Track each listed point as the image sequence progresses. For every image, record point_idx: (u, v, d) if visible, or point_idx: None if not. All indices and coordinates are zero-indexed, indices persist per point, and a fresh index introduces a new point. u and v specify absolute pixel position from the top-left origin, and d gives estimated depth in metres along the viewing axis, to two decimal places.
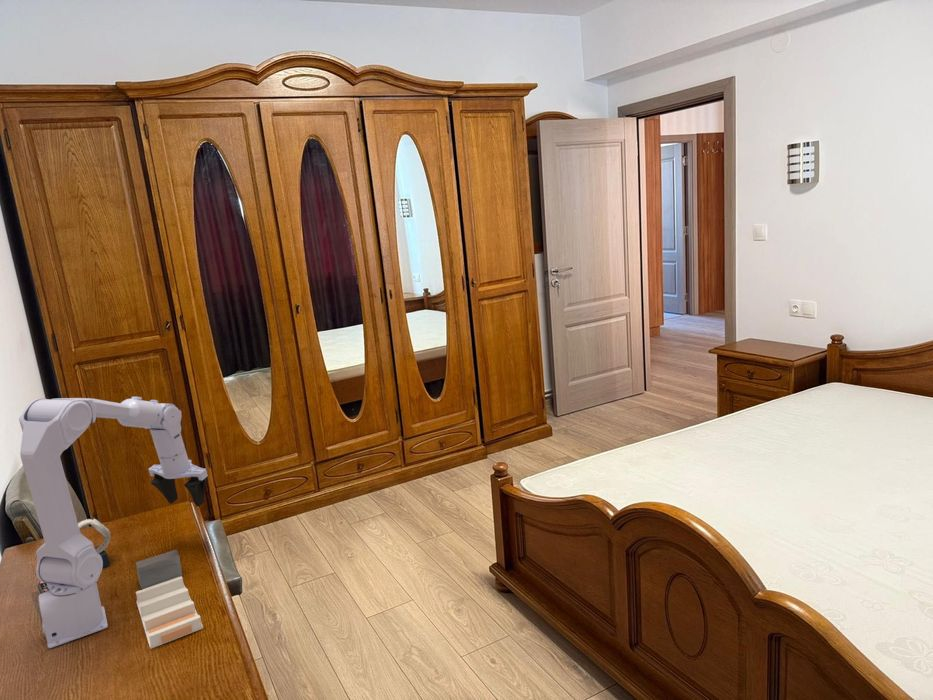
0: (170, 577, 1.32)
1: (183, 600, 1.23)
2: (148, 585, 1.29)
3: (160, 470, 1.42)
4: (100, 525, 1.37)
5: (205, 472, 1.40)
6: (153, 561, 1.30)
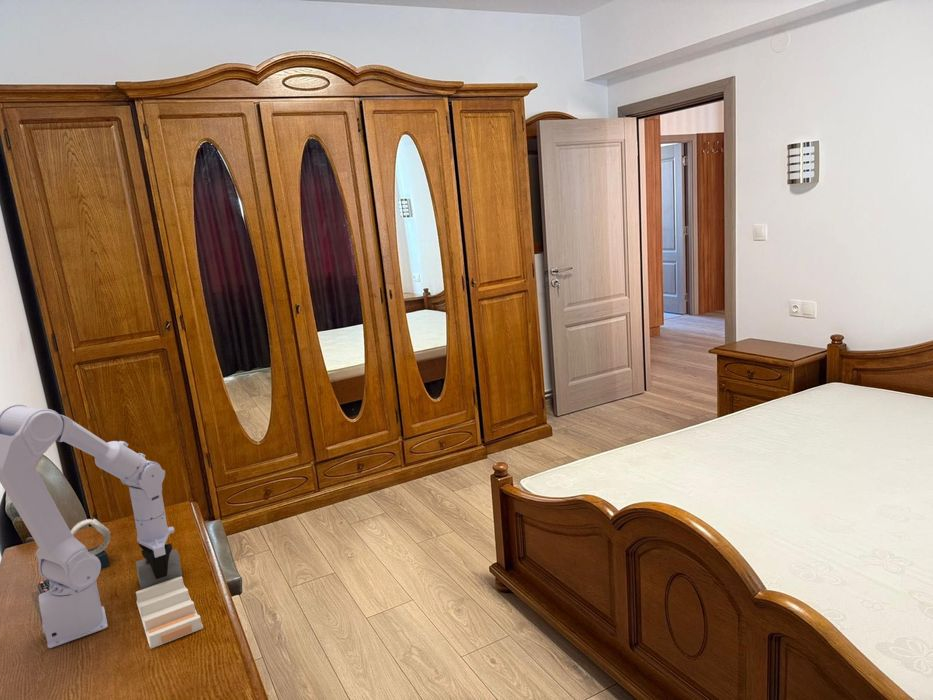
0: (170, 576, 1.32)
1: (183, 600, 1.23)
2: (148, 584, 1.29)
3: None
4: (100, 525, 1.37)
5: (163, 549, 1.24)
6: None
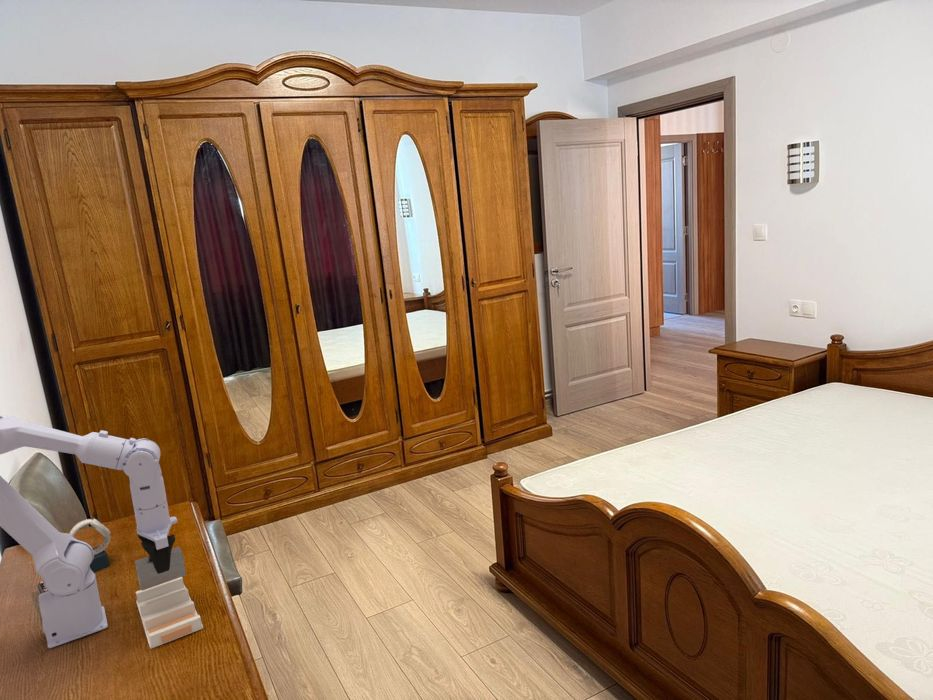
0: (173, 576, 1.21)
1: (183, 600, 1.23)
2: (149, 585, 1.18)
3: None
4: (100, 525, 1.37)
5: (165, 540, 1.13)
6: None
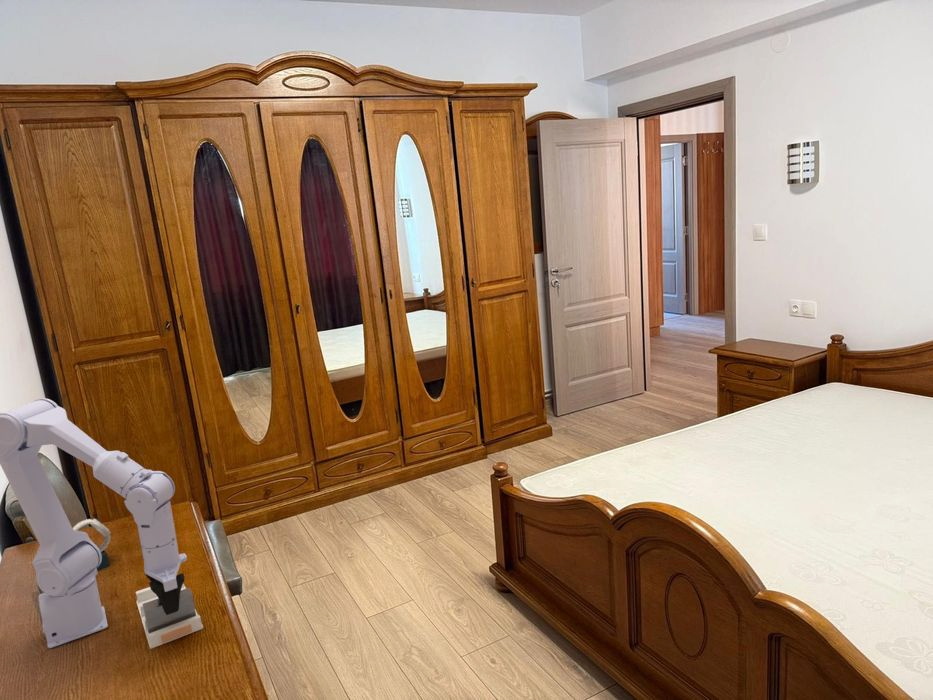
0: (182, 620, 1.14)
1: None
2: None
3: None
4: (100, 525, 1.37)
5: (174, 582, 1.07)
6: None
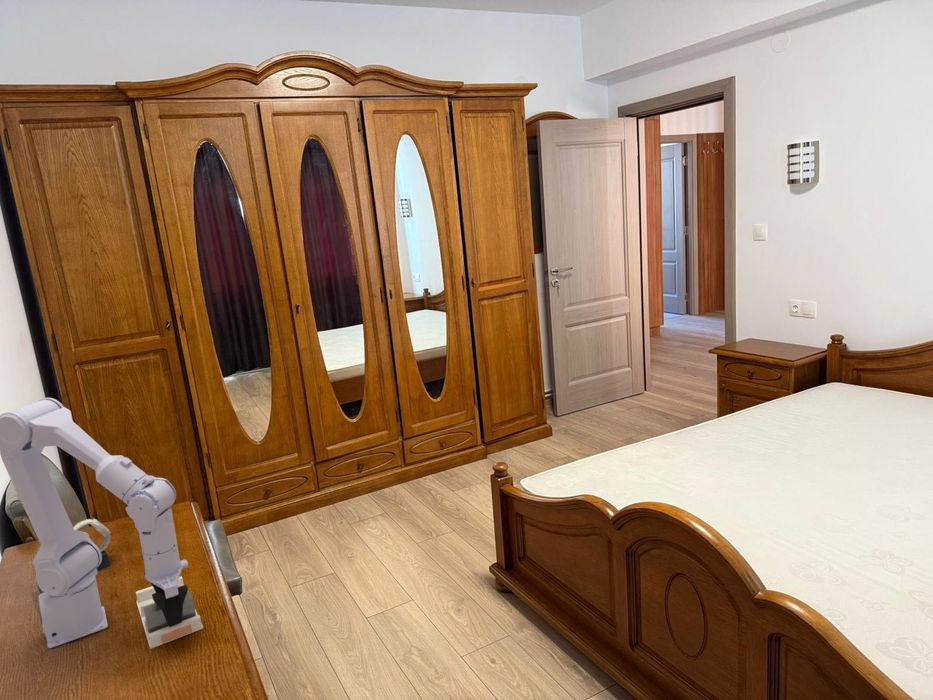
0: None
1: None
2: None
3: None
4: (100, 525, 1.37)
5: (175, 589, 1.07)
6: None
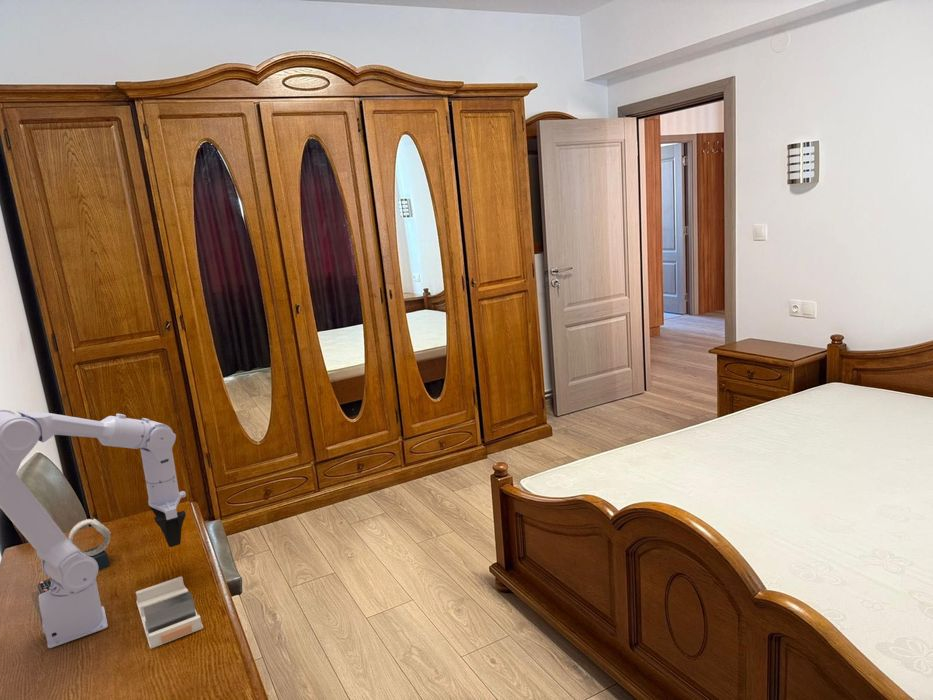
0: None
1: None
2: None
3: None
4: (100, 525, 1.37)
5: (174, 512, 1.23)
6: (163, 606, 1.13)
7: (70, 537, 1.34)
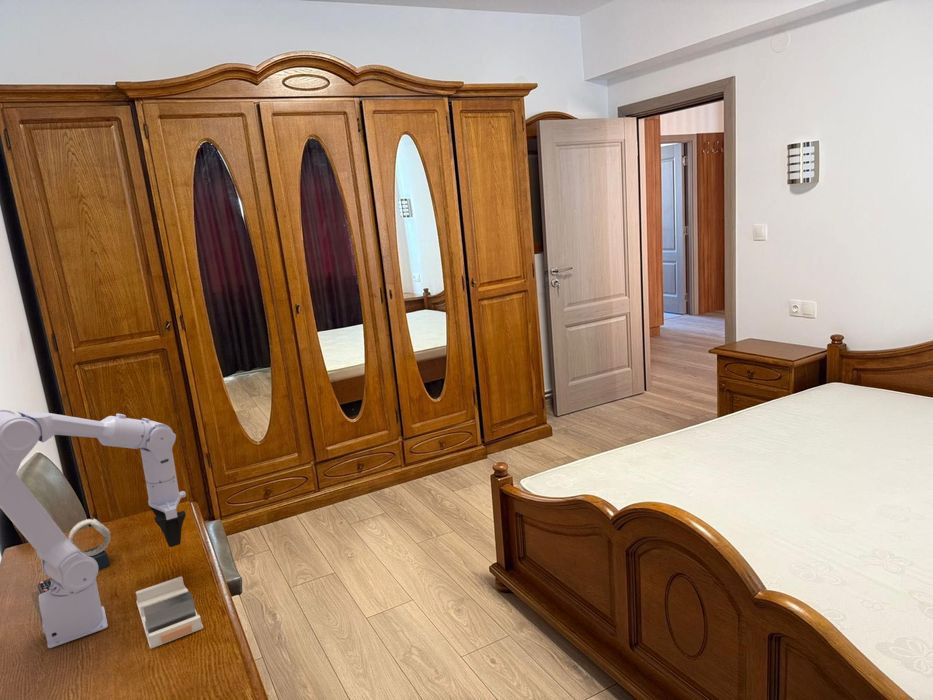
0: None
1: None
2: None
3: None
4: (100, 525, 1.37)
5: (174, 512, 1.23)
6: (163, 606, 1.13)
7: (70, 537, 1.34)
